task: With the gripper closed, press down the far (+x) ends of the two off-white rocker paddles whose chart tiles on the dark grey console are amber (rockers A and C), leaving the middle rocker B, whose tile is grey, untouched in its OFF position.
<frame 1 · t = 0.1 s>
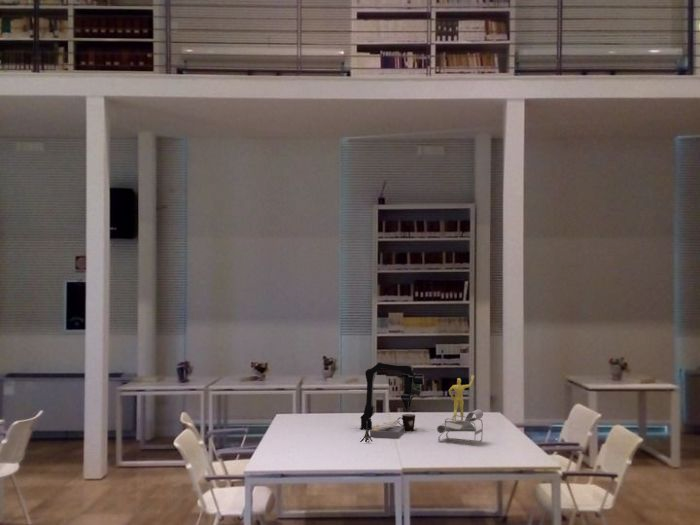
hand: (408, 408, 524), 15 cm above the table, fingers open, 9 cm apart
rocker B: (389, 424, 509), point 7 cm above the table, hinge at -12.0°
coffee mug: (406, 430, 524), on the table
rocker C: (391, 422, 515), point 7 cm above the table, hinge at -12.0°
statue: (459, 429, 531), on the table
chair: (460, 442, 486), on the table
console: (387, 434, 509), on the table
rocker A: (387, 426, 502), point 7 cm above the table, hinge at -12.0°
eiffel tower figurine: (366, 442, 489), on the table
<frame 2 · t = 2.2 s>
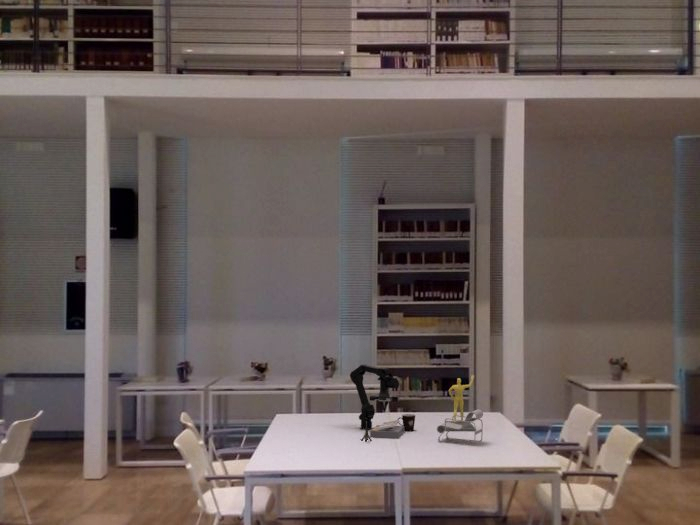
hand: (384, 411, 520), 13 cm above the table, fingers closed
nothing on the table moved.
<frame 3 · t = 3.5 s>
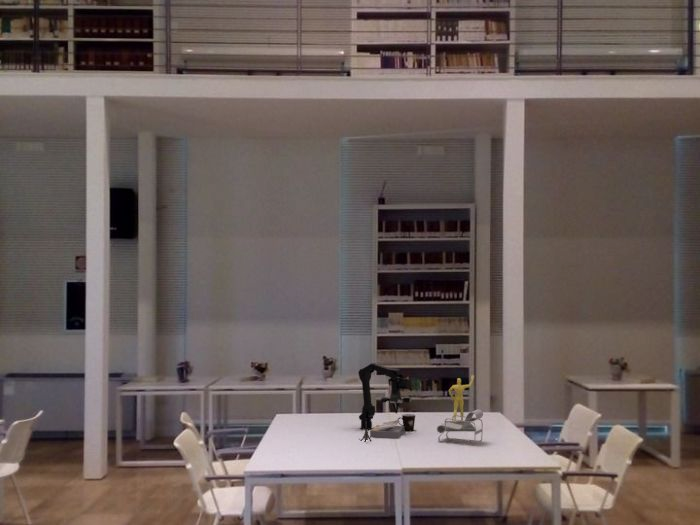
hand: (396, 413, 515), 13 cm above the table, fingers closed
nothing on the table moved.
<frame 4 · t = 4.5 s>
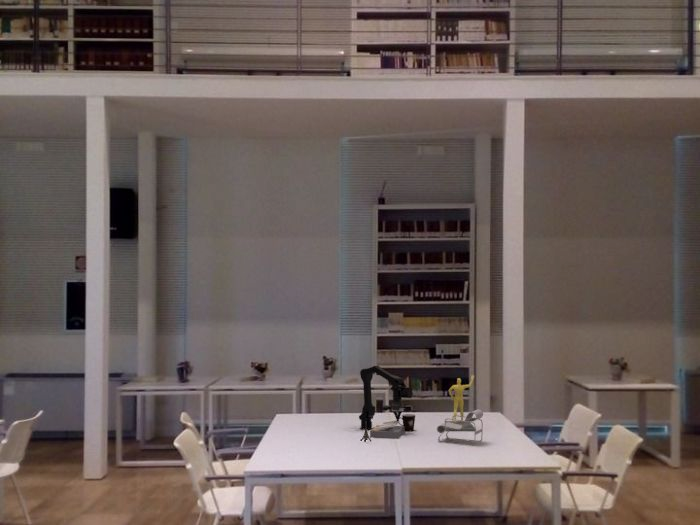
hand: (397, 421, 514), 7 cm above the table, fingers closed, pressing on rocker C
rocker C: (391, 422, 515), point 7 cm above the table, hinge at -9.9°, touching gripper
everything else where it was.
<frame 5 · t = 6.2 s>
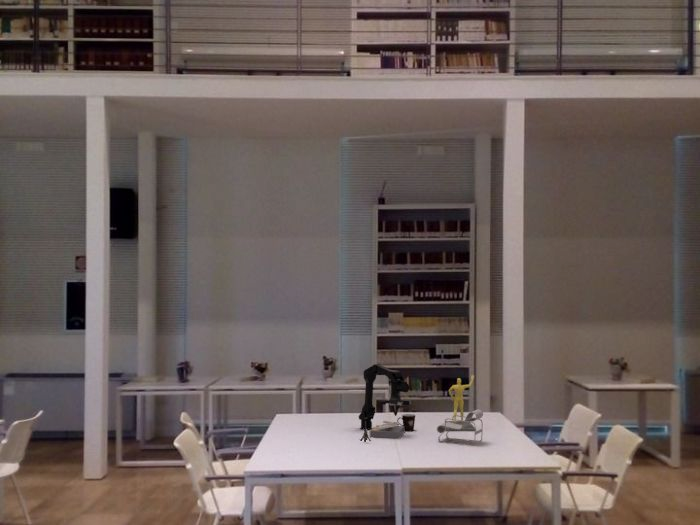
hand: (395, 415, 507), 12 cm above the table, fingers closed
rocker C: (391, 422, 515), point 7 cm above the table, hinge at 8.3°
everything else where it was.
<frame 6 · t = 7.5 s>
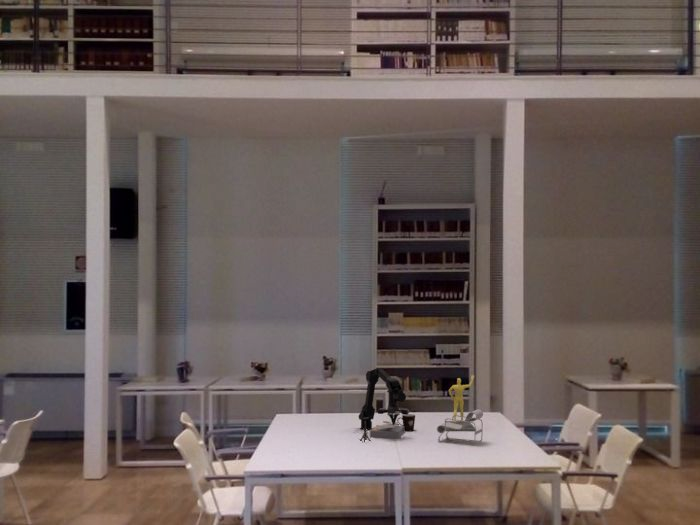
hand: (393, 425, 501), 7 cm above the table, fingers closed, pressing on rocker A
rocker C: (391, 422, 515), point 7 cm above the table, hinge at 9.2°
rocker A: (387, 426, 502), point 7 cm above the table, hinge at -9.6°, touching gripper
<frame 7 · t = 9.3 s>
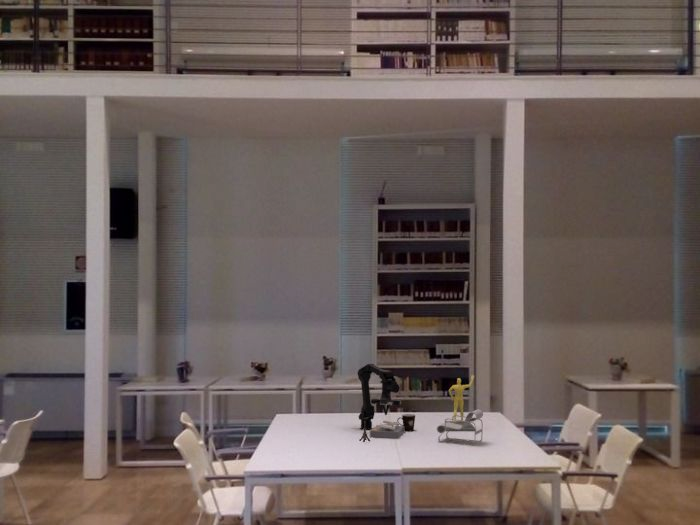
hand: (385, 415, 512), 12 cm above the table, fingers closed
rocker A: (387, 426, 502), point 7 cm above the table, hinge at 7.9°
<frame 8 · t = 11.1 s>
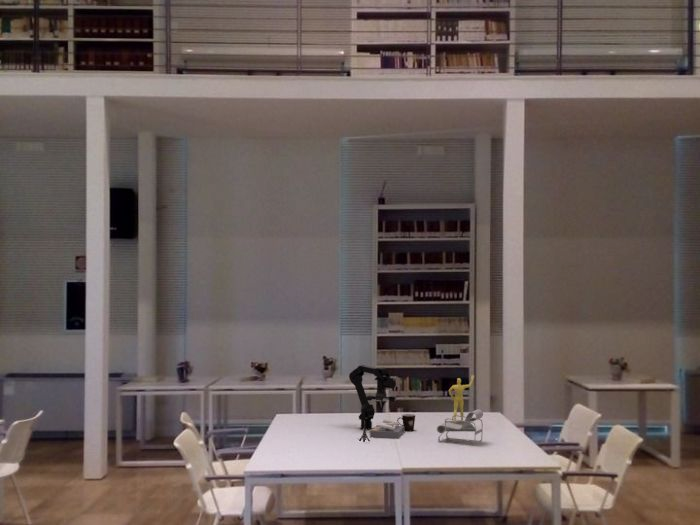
hand: (381, 411, 520), 13 cm above the table, fingers closed
rocker A: (387, 426, 502), point 7 cm above the table, hinge at 8.7°
at the end: rocker A at +9° (first picture: -12°); rocker C at +9° (first picture: -12°); rocker B at -12° (first picture: -12°) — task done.
